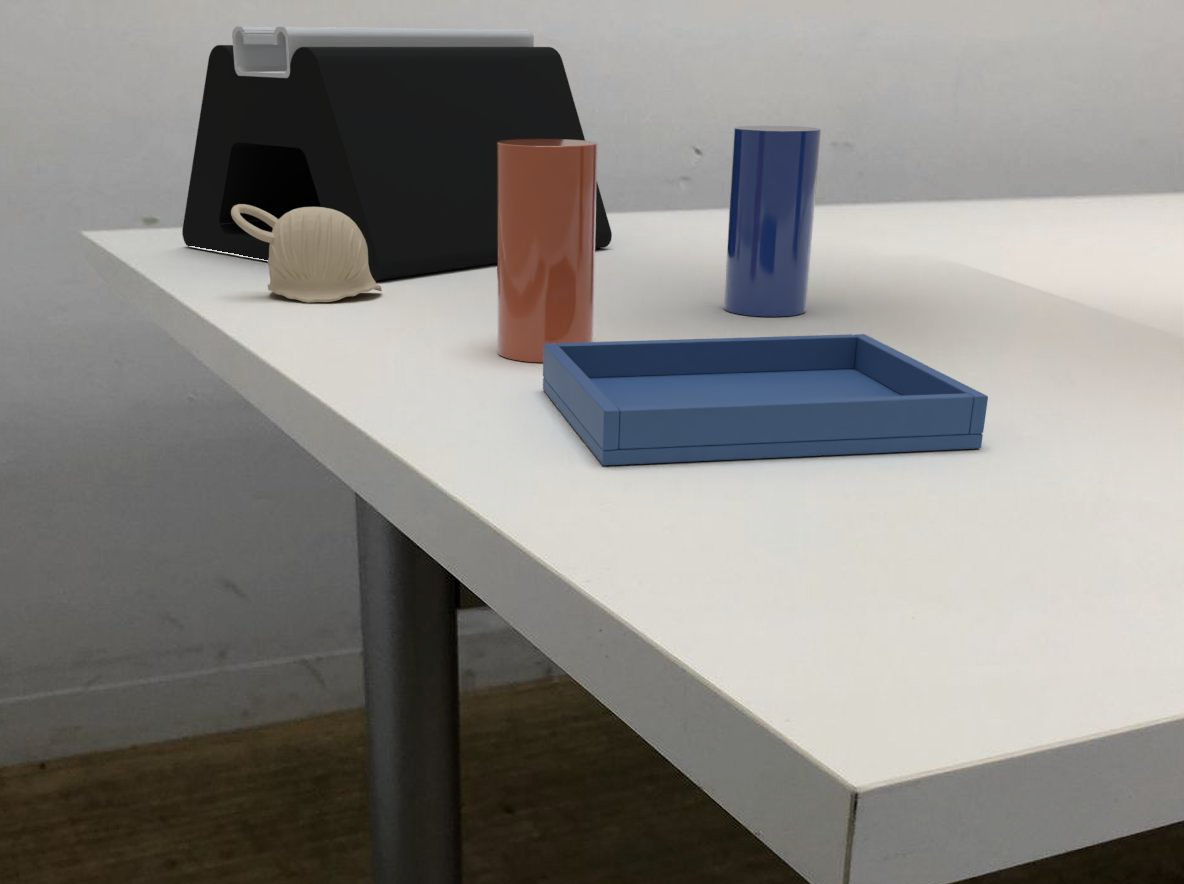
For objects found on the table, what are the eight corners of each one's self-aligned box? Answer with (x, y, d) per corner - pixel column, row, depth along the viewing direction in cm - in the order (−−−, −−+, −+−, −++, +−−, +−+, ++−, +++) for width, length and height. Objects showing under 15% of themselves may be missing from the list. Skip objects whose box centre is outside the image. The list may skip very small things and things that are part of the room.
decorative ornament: (370, 304, 82) (367, 210, 80) (232, 300, 83) (225, 207, 81) (384, 292, 86) (381, 202, 84) (252, 289, 87) (245, 199, 84)
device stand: (611, 248, 104) (617, 30, 98) (380, 283, 89) (371, 27, 83) (411, 221, 118) (406, 28, 112) (183, 246, 103) (163, 26, 97)
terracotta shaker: (581, 341, 73) (585, 138, 69) (602, 361, 68) (607, 146, 64) (491, 344, 72) (489, 139, 68) (505, 364, 68) (505, 146, 64)
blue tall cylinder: (789, 301, 84) (803, 125, 80) (818, 315, 80) (834, 130, 76) (713, 303, 83) (723, 125, 79) (738, 317, 79) (749, 131, 75)
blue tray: (860, 378, 65) (865, 333, 65) (981, 448, 54) (989, 395, 54) (542, 389, 63) (543, 343, 62) (602, 466, 52) (604, 410, 51)
